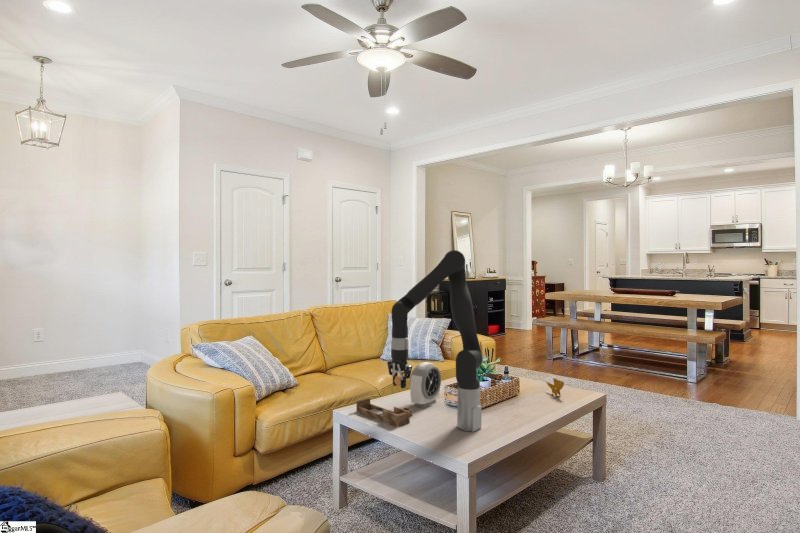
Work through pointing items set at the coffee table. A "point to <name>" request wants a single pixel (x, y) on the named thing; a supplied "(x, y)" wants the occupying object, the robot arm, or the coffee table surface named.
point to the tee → (408, 410)
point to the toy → (556, 386)
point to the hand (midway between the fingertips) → (399, 386)
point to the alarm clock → (425, 384)
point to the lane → (383, 413)
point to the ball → (398, 380)
